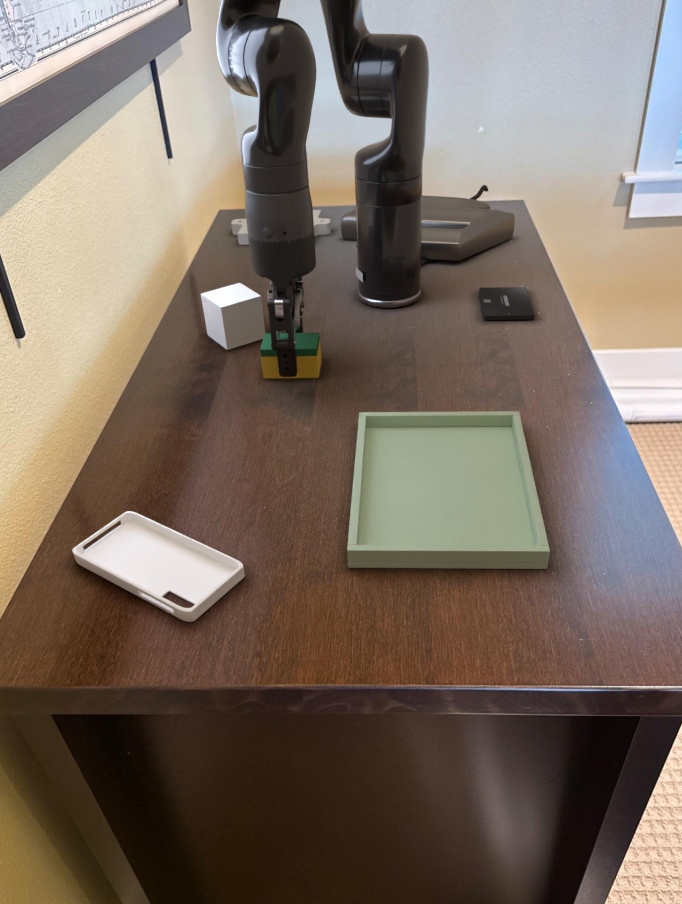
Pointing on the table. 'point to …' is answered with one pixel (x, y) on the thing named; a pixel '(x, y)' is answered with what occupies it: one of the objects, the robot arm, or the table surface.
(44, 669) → the table surface
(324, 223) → the mounting plate
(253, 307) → the white cube
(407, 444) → the tray
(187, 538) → the phone case
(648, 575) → the table surface
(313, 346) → the sponge
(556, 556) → the table surface
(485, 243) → the grey contoured platform
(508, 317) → the solid state drive
